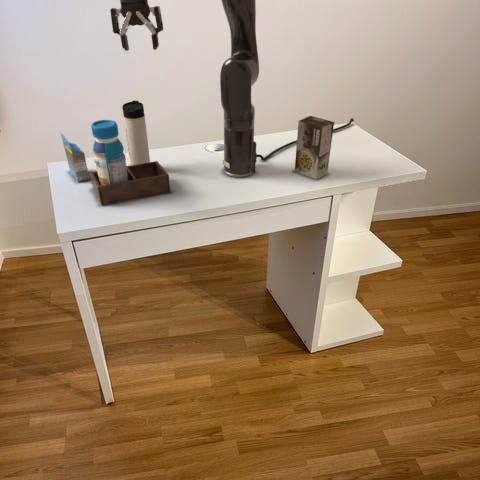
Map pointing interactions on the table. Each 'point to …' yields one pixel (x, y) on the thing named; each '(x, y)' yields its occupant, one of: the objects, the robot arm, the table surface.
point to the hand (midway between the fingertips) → (141, 49)
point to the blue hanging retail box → (76, 160)
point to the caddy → (133, 184)
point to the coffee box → (313, 146)
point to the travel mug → (136, 132)
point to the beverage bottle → (108, 153)
